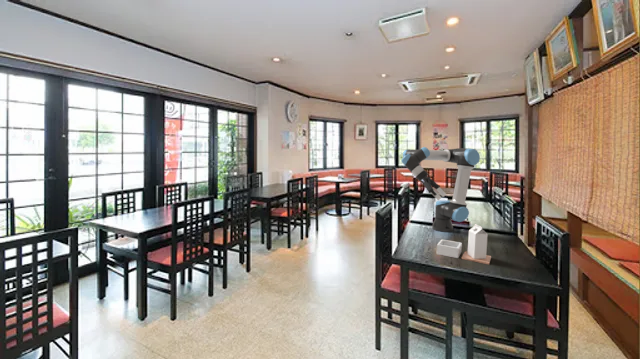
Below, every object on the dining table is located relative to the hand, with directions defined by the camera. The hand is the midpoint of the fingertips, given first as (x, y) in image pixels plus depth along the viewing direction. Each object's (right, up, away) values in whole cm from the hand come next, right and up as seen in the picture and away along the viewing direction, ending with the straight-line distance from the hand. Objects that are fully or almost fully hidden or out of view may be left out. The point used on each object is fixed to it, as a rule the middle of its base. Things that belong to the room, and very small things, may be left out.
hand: (442, 197), depth 186 cm
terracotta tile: (+12, -35, -18) cm, 41 cm away
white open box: (0, -34, -9) cm, 35 cm away
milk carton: (+12, -34, -18) cm, 41 cm away
